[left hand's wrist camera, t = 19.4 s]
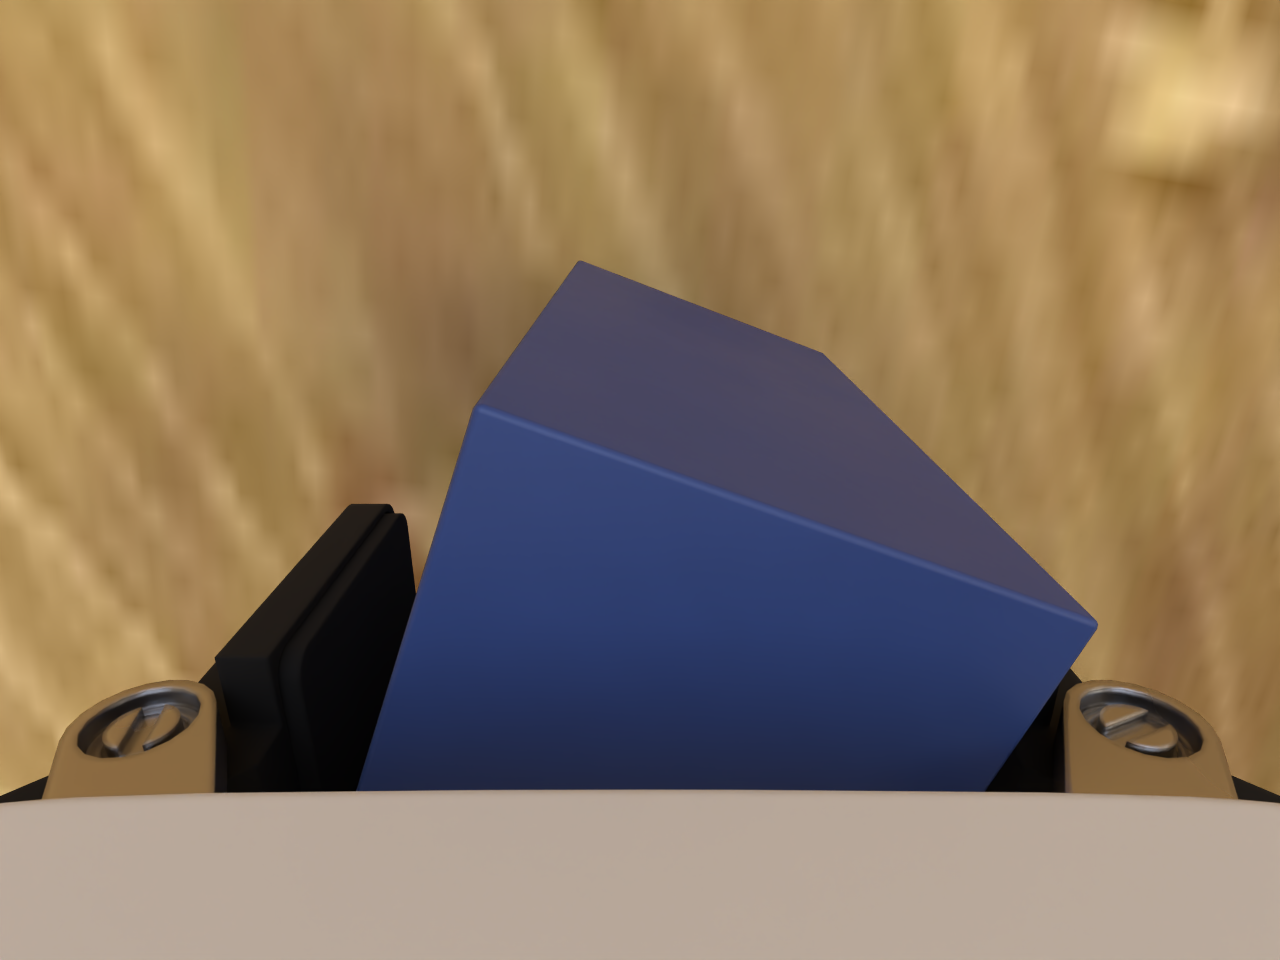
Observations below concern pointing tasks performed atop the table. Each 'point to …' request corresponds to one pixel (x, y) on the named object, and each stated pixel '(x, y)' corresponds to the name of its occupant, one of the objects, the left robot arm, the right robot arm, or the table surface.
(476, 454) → the block
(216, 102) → the table surface
